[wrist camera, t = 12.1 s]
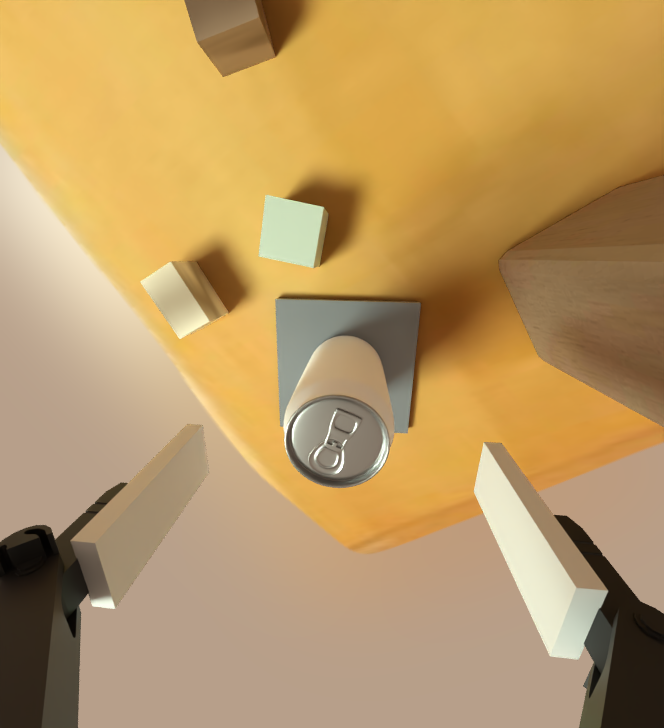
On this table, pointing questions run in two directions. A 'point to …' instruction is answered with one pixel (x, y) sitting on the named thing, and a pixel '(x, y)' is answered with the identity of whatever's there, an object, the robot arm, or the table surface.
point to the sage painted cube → (293, 231)
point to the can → (340, 415)
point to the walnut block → (231, 32)
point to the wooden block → (599, 295)
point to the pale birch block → (184, 297)
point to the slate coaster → (349, 318)
